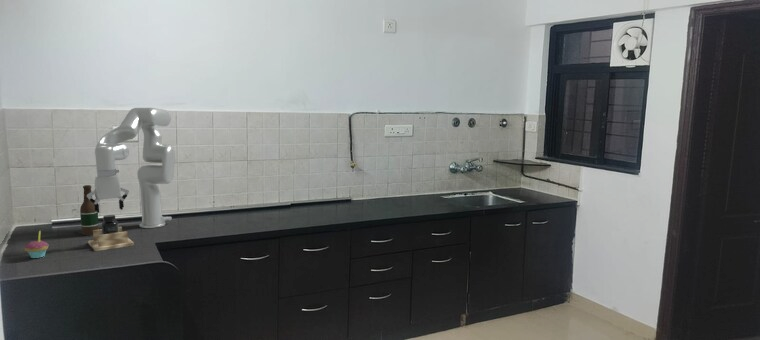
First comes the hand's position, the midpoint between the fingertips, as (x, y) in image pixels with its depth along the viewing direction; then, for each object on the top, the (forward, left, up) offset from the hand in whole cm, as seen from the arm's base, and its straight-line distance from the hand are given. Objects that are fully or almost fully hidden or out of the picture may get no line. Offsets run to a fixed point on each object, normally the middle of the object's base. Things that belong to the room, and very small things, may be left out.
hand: (109, 210), depth 250 cm
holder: (0, 0, -16) cm, 15 cm away
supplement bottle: (0, 0, -14) cm, 14 cm away
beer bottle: (+4, -27, -16) cm, 31 cm away
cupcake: (+29, +4, -16) cm, 34 cm away
